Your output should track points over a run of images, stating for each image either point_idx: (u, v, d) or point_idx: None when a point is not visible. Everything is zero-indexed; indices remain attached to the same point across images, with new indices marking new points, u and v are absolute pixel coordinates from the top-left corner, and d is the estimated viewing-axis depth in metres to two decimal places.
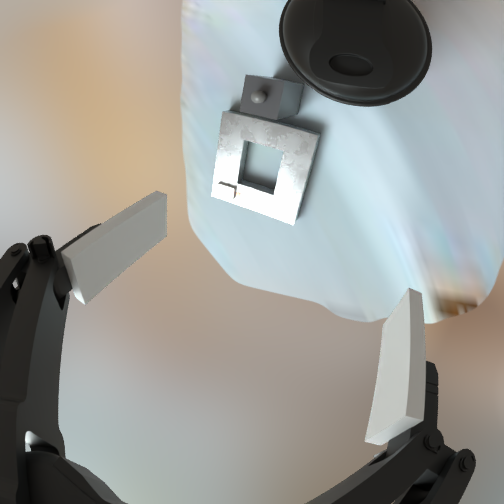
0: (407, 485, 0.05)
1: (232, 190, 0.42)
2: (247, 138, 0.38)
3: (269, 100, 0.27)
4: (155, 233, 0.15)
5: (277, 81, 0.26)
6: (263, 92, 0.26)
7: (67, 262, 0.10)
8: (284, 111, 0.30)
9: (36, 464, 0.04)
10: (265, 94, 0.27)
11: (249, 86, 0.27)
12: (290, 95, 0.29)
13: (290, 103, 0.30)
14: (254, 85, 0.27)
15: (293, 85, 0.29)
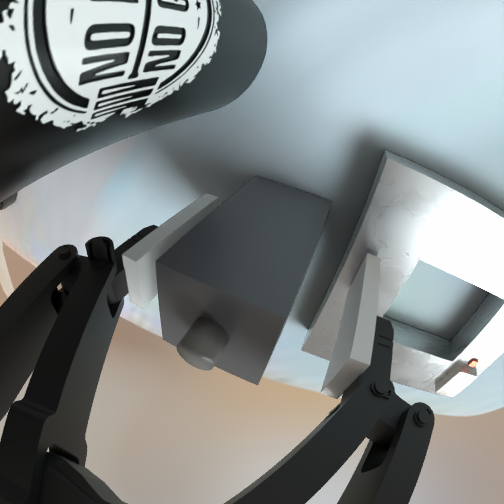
0: (365, 435, 0.06)
1: (460, 374, 0.14)
2: None
3: (219, 317, 0.09)
4: None
5: (159, 280, 0.09)
6: (189, 329, 0.09)
7: (129, 265, 0.10)
8: (285, 260, 0.10)
9: None
10: (195, 327, 0.09)
11: None
12: (241, 231, 0.11)
13: (274, 229, 0.12)
14: (183, 334, 0.11)
15: (217, 215, 0.12)
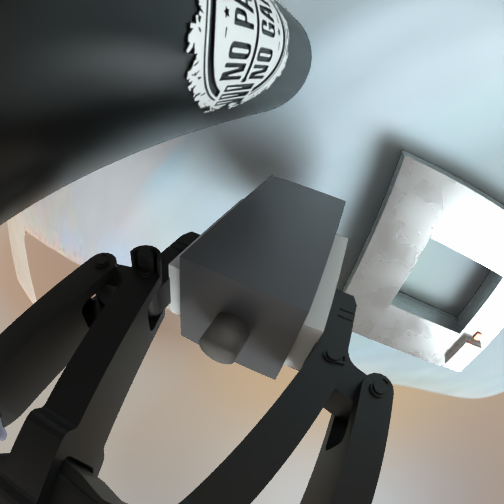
0: (324, 403, 0.07)
1: (466, 345, 0.16)
2: (389, 297, 0.18)
3: (242, 311, 0.09)
4: None
5: (182, 275, 0.10)
6: (211, 324, 0.10)
7: (176, 275, 0.10)
8: (305, 257, 0.10)
9: None
10: (218, 321, 0.09)
11: None
12: (261, 229, 0.11)
13: (292, 227, 0.12)
14: (203, 329, 0.11)
15: (237, 212, 0.12)
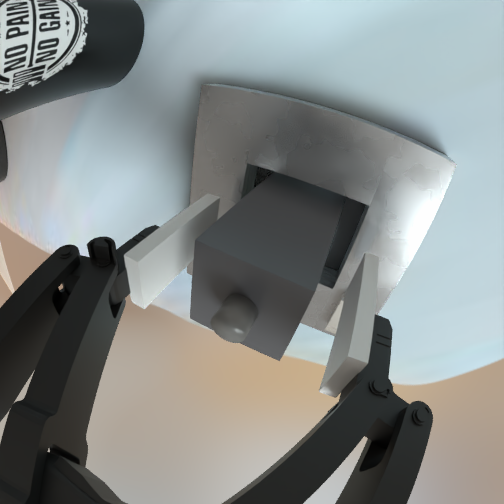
0: (363, 434, 0.06)
1: None
2: None
3: (252, 292, 0.10)
4: None
5: (196, 258, 0.10)
6: (222, 304, 0.10)
7: (131, 265, 0.10)
8: (310, 244, 0.11)
9: None
10: (229, 301, 0.10)
11: None
12: (269, 218, 0.12)
13: (297, 217, 0.13)
14: (213, 311, 0.12)
15: (246, 202, 0.13)
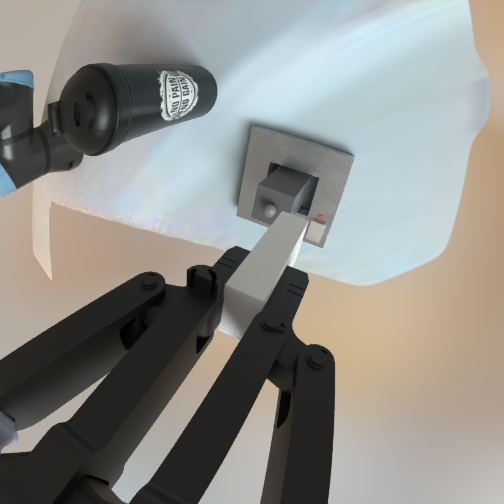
0: (270, 370, 0.08)
1: (312, 222, 0.38)
2: None
3: (276, 200, 0.32)
4: None
5: (257, 190, 0.32)
6: (266, 205, 0.32)
7: (232, 295, 0.10)
8: (294, 188, 0.33)
9: None
10: (268, 203, 0.32)
11: (261, 216, 0.34)
12: (280, 180, 0.34)
13: (290, 181, 0.34)
14: (261, 211, 0.34)
15: (271, 175, 0.35)
